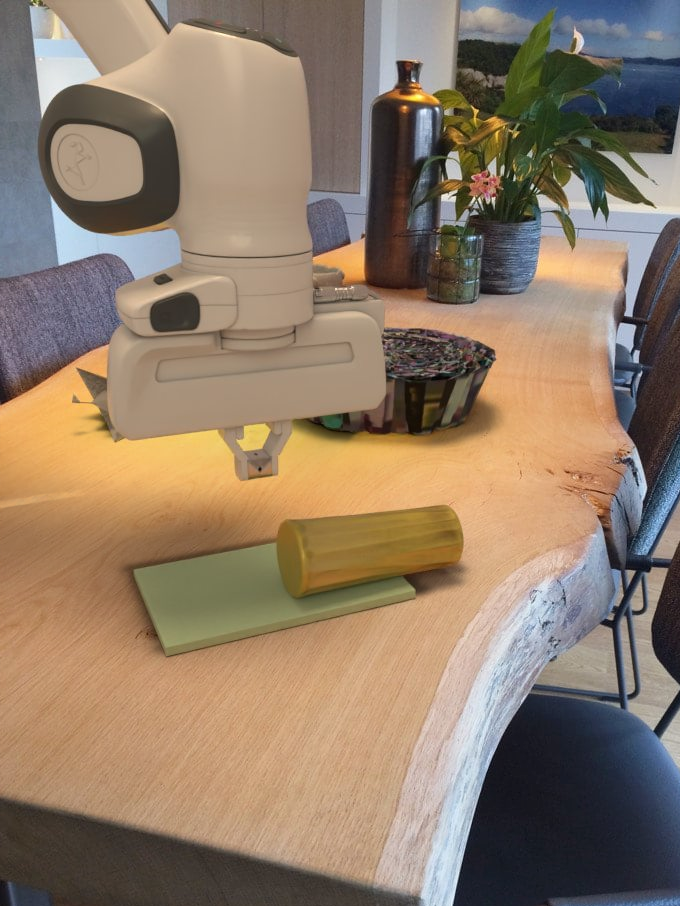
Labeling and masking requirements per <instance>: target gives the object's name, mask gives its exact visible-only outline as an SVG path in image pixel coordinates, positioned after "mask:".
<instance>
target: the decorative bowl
mask: <svg viewBox="0 0 680 906" xmlns="http://www.w3.org/2000/svg"><path fill="white" fill-rule="evenodd" d="M381 339H382V344H383V351H384V360H385V371H386V395H385V397H384V398H383V400H382V401H381V403H380V404H379V406H378V407H377V408H375V409H370V410H363V411H355V412H347V413H340V414H332V415H324V416H317V417H309V418H307V420H308V421H309V422H310V423H314V424H322V425H323V427H325V428H326V429H328V430H332V431H336V432H349V433H354V434H355V433H369V434H371V435H383V436H384V435H385V436H386V435H389V434H391V433H392V434H400V435H406V434H407V435H410V436H415V437H418V436H424V435H432V434H433V433H434V432H435V431H444V430H446V429H448V428H455V427H459V426H460V425H461V424H462V423H464V422H465V421H466V419H467V417H468V416H469V415H470V413H471V412H472V409H473V407H474V404H475V402H476V400H477V398H478V396H479V393H480V392H481V390H482V387H483V385H484V382H485V380H486V378H487V376H488V374H489V371H490V369H492V365H493V364H494V362H496V361H497V358H496V350H495V349H493V348H492V347H490V346H488V345H487V344H485V343H482V342H480V341H479V340H475V339H472V338H471V337H469V336H467V335H463V334H457V333H453V332H446V331H442V330H438V329H430V328H420V327H416V328H415V327H413V328H412V327H411V328H406V327H405V328H404V327H388V326H384V331H383V334H382V336H381Z"/></svg>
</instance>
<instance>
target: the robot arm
mask: <svg viewBox="0 0 680 906" xmlns="http://www.w3.org/2000/svg"><path fill="white" fill-rule="evenodd" d="M40 1H41V2H42V3H43V4H44V5H45V6H47V7H48V8H49V9H50V10H51V11H52V12H53V13H54V14H55V15H56V16H57V17H58V19H60V21H61V22H62V23H63V24H64V26H65V27H66V28H67V30H68V32H69V33H70V34H71V35H72V37H73V38H74V39H75V41H76V42H77V44H78V45H79V46H80V48H81V49H82V51H83V52H84V54H85V55H86V56H87V58H88V59H89V61H90V63H92V65H93V66H94V68H95V69H96V70H97V72H98V73H99V75H100V76H99V77H95V78H93V79H90V80H87V81H85V82H81V83H78V84H73V85H69V86H67V87H65V88H63V89H61V90H60V91H59V92H57V93H56V94H55V95H54V96H53V97H52V98H51V100H50V101H49V103H48V105H47V106H46V108H45V110H44V113H43V114H42V118H41V120H40V123H39V124H40V125H39V128H38V135H37V158H38V164H39V169H40V173H41V176H42V179H43V181H44V182H43V183H44V184H45V187H46V189H47V191H48V193H49V195H50V197H51V198H52V200H53V201H54V204H56V206H57V207H58V208H59V210H60V211H61V212H62V213H63V214H64V215H65V216H66V217H67V218H68V219H69V220H70V221H72V222H73V223H74V224H76V226H78V227H80V228H81V229H83V230H86V231H88V232H91V233H94V234H101V235H108V236H112V237H113V236H115V237H127V236H133V235H140V234H145V233H156V232H163V231H167V230H168V231H169V230H171V229H172V230H173V231H175V233H176V234H177V236H178V239H179V245H180V246H179V247H180V257H181V262H179V263H176V264H174V265H171V266H168V267H167V268H164V269H161V270H159V271H157V272H154V273H151V274H149V275H146V276H144V277H140V278H138V279H135V280H133V281H130V282H127V283H124V284H123V285H121V286H119V287H118V288H117V289H116V291H115V294H114V302H115V307H116V312H117V315H118V317H119V319H120V321H121V322H122V323H121V324H120V325H119V326H118V327H117V328H116V329H115V330H114V332H113V333H112V334H111V337H110V340H109V345H108V348H107V360H106V378H107V400H108V410H109V416H110V419H111V422H112V424H113V426H114V428H115V429H116V430H117V431H118V432H119V433H120V434H121V435H122V436H123V437H125V439H127V441H140V440H142V441H143V440H148V439H156V438H163V437H171V436H172V437H173V436H179V435H185V434H186V435H188V434H194V433H202V432H209V431H216V430H217V434H218V435H219V436H220V438H221V439H222V440H223V442H224V444H225V445H226V446H227V447H228V449H229V451H230V452H231V453H232V454H233V460H234V461H233V462H234V472H235V476H236V477H237V479H238V480H239V481H240V482H246V481H250V480H255V479H263V478H270V477H277V476H278V475H279V456H280V455H281V454H282V452H283V450H284V448H285V446H286V445H287V443H288V441H289V439H290V438H291V436H292V434H293V421H295V420H302V419H308V418H309V417H317V416H324V415H332V414H340V413H347V412H355V411H363V410H370V409H375V408H377V407H378V406H379V404H380V403H381V401H382V400H383V398H384V397H385V395H386V371H385V360H384V351H383V344H382V339H381V336H382V334H383V331H384V327H386V326H385V324H386V323H385V320H386V319H385V318H386V308H385V303H384V301H383V299H382V297H381V296H380V295H379V294H378V293H377V292H376V291H373V290H372V289H369V288H368V286H367V285H364V284H349V285H348V286H342V287H333V286H327V287H313V264H314V251H313V249H314V245H313V238H312V234H311V231H310V227H309V224H308V214H307V209H308V199H309V194H310V190H311V186H312V183H313V152H312V151H313V150H312V149H313V148H312V147H313V146H312V131H311V130H312V129H311V115H310V105H309V97H308V89H307V82H306V77H305V73H304V72H305V71H304V67H303V64H302V61H301V58H300V56H299V54H298V53H297V51H296V50H295V49H294V48H293V47H292V46H291V44H290V43H289V42H287V41H286V40H285V39H283V38H282V37H280V36H279V35H277V34H273V33H270V32H267V31H263V30H259V29H254V28H249V27H244V26H241V25H236V24H235V25H234V24H230V23H227V22H223V21H217V20H212V19H207V18H197V17H195V18H188V19H186V20H181V21H180V22H178V23H177V24H175V25H174V26H173V28H172V29H171V28H170V26H169V24H168V23H167V22H166V20H165V19H164V17H163V16H162V15H161V12H160V11H159V10H158V9H157V6H156V5H155V3H153V1H152V0H40ZM368 297H371V298H368ZM263 424H264V425H265V426H266V427H267V428H269V430H270V431H269V433H268V435H267V436H266V439H265V441H264V443H263V446H262V448H257V449H251V450H243V448H242V446H241V445H240V444H239V441H241V440H244V439H245V428H244V427H249V426H255V425H263Z"/></svg>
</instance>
